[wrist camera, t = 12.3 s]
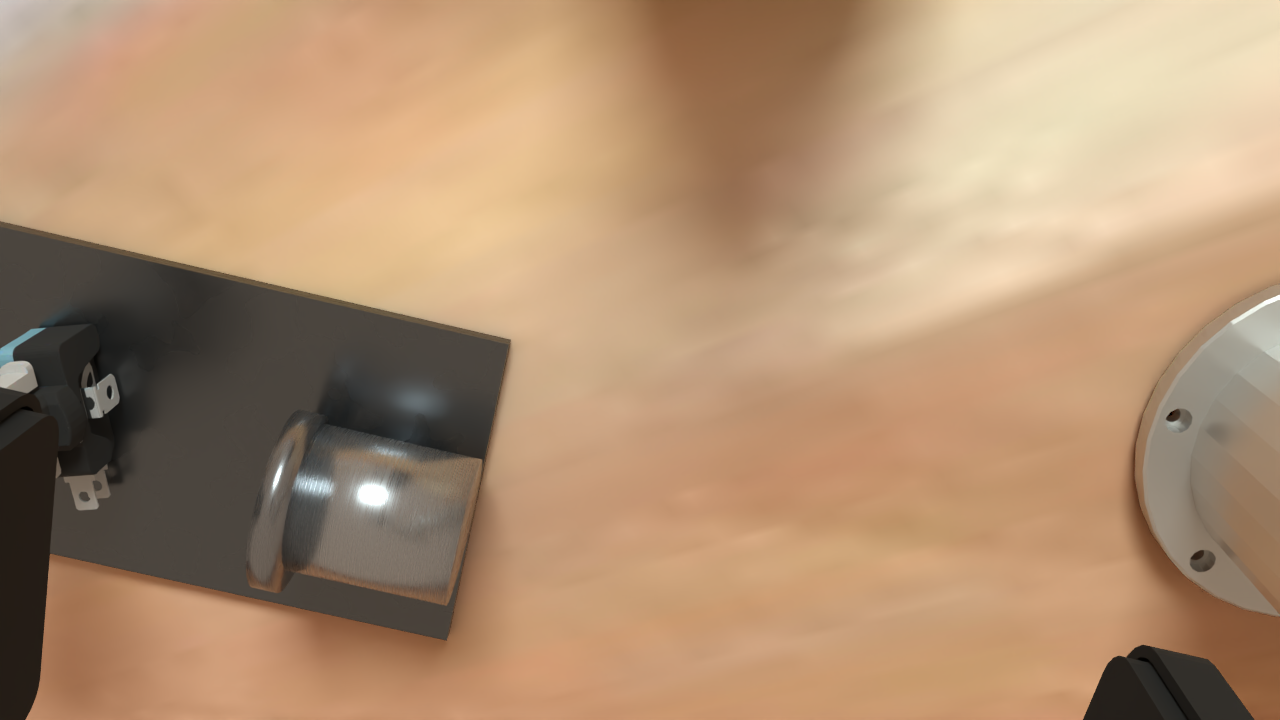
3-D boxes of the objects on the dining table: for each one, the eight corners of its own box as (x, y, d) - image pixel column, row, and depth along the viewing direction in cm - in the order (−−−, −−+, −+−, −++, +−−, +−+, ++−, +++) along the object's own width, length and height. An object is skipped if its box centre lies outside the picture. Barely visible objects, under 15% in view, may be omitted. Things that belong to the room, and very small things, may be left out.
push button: (176, 485, 43) (36, 638, 34) (33, 496, 44) (-145, 651, 34) (134, 308, 41) (-29, 419, 32) (-17, 321, 41) (-223, 434, 32)
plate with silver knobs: (510, 339, 42) (481, 409, 35) (449, 633, 46) (413, 741, 39) (-311, 149, 40) (-489, 187, 34) (-301, 468, 44) (-458, 553, 38)
